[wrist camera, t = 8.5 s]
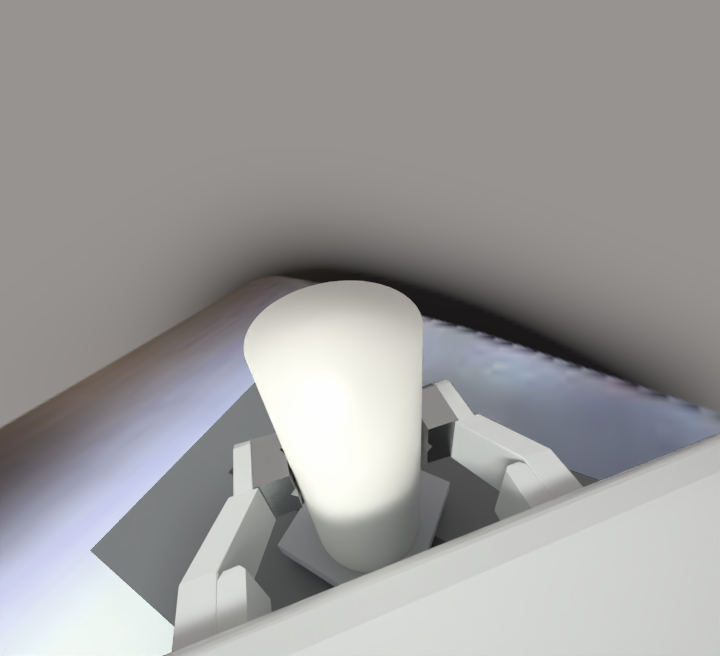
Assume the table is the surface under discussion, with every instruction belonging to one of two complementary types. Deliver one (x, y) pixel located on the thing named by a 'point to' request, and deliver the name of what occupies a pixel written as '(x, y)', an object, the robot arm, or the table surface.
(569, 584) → the robot arm
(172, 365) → the table surface
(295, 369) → the fader knob
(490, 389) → the table surface
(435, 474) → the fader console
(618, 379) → the table surface
